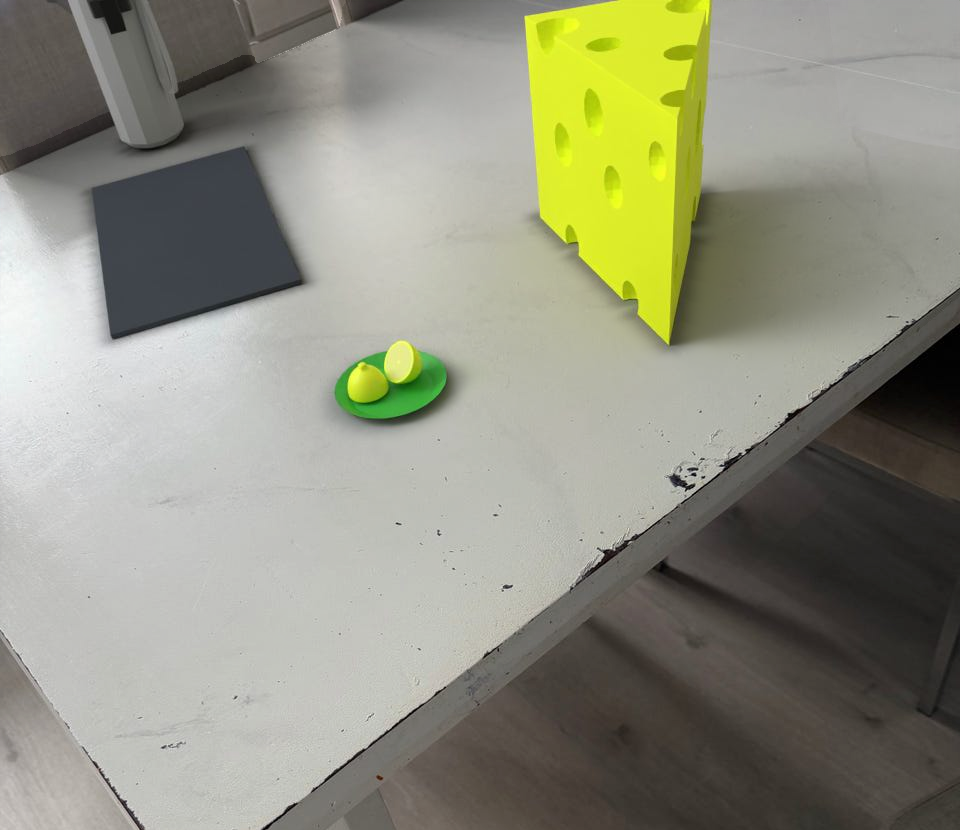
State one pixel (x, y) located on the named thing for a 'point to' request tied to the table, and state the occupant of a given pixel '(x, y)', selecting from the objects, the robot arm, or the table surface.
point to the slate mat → (187, 242)
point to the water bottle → (133, 74)
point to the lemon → (390, 382)
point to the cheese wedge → (622, 139)
